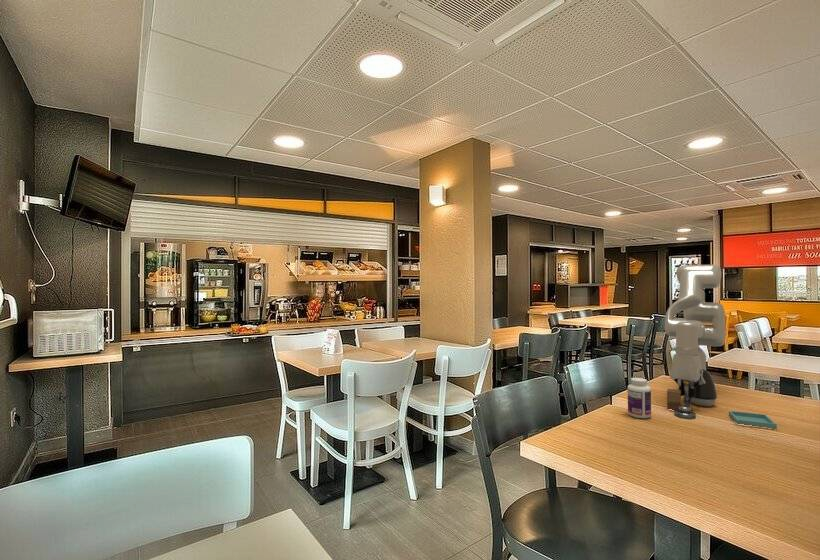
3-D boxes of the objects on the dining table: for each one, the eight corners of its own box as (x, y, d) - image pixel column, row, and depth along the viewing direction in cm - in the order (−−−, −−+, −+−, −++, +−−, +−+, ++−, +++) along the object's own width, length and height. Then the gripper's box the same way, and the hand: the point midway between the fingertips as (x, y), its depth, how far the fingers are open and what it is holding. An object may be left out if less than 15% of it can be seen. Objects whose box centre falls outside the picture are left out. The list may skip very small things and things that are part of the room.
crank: (690, 413, 157) (690, 388, 157) (678, 411, 159) (677, 386, 159) (693, 404, 168) (693, 380, 168) (682, 402, 171) (681, 379, 171)
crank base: (672, 412, 164) (672, 408, 164) (693, 414, 161) (693, 410, 161) (675, 417, 158) (675, 413, 158) (697, 420, 155) (697, 416, 155)
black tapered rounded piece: (681, 400, 179) (681, 366, 179) (706, 400, 179) (705, 366, 179) (697, 408, 169) (696, 371, 169) (722, 408, 169) (722, 371, 169)
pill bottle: (645, 412, 164) (645, 377, 164) (655, 419, 156) (655, 382, 156) (624, 412, 165) (624, 376, 165) (633, 419, 157) (632, 381, 157)
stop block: (680, 412, 164) (680, 392, 164) (667, 410, 167) (667, 390, 167) (681, 409, 168) (680, 390, 168) (668, 407, 170) (667, 388, 170)
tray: (728, 416, 159) (728, 410, 159) (765, 420, 154) (765, 414, 154) (737, 425, 149) (737, 419, 149) (776, 430, 144) (776, 424, 144)
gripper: (661, 350, 173) (661, 393, 173) (705, 355, 159) (705, 403, 159) (669, 348, 177) (670, 390, 177) (713, 353, 164) (713, 399, 164)
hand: (687, 396), depth 168 cm, fingers closed on crank, 2 cm apart
